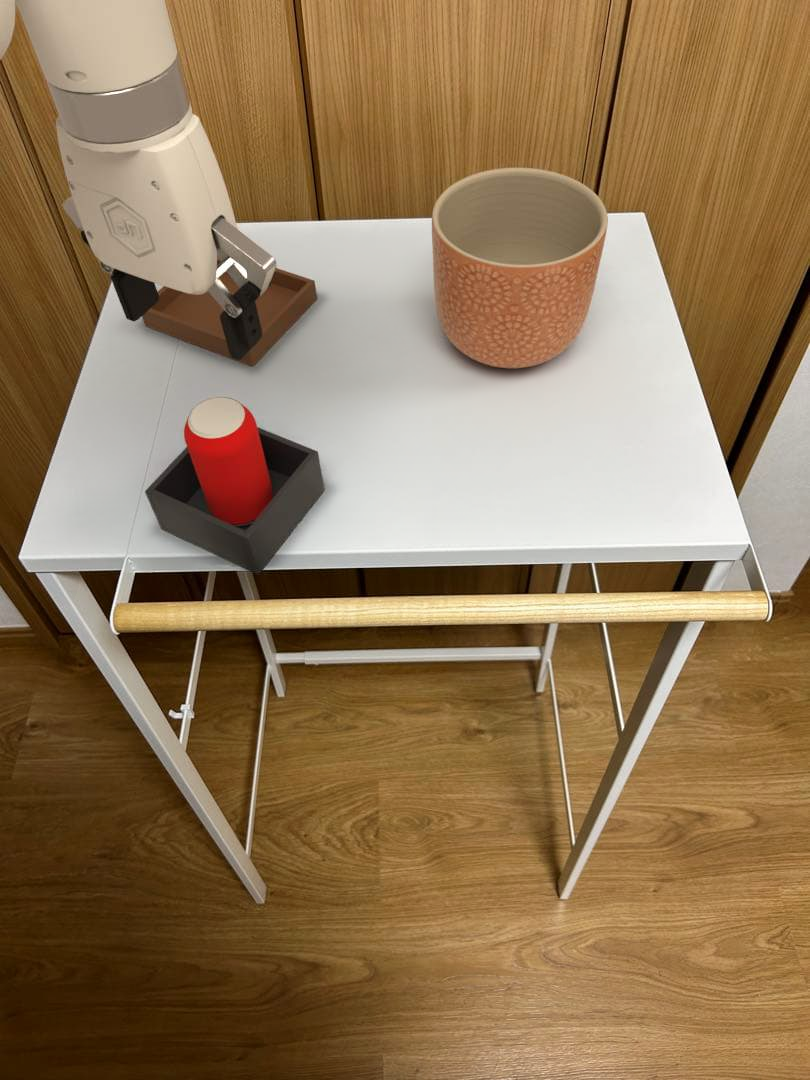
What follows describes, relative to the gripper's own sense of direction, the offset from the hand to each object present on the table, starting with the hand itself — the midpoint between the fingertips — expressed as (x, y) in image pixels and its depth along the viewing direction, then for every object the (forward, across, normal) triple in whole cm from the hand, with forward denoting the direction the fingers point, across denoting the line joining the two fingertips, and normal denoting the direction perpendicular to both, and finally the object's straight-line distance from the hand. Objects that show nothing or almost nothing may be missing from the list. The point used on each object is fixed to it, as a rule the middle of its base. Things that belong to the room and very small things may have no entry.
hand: (194, 328), depth 62 cm
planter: (+22, +12, +34) cm, 42 cm away
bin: (+22, 0, 0) cm, 22 cm away
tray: (+22, -19, +23) cm, 37 cm away
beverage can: (+21, 0, 0) cm, 21 cm away
